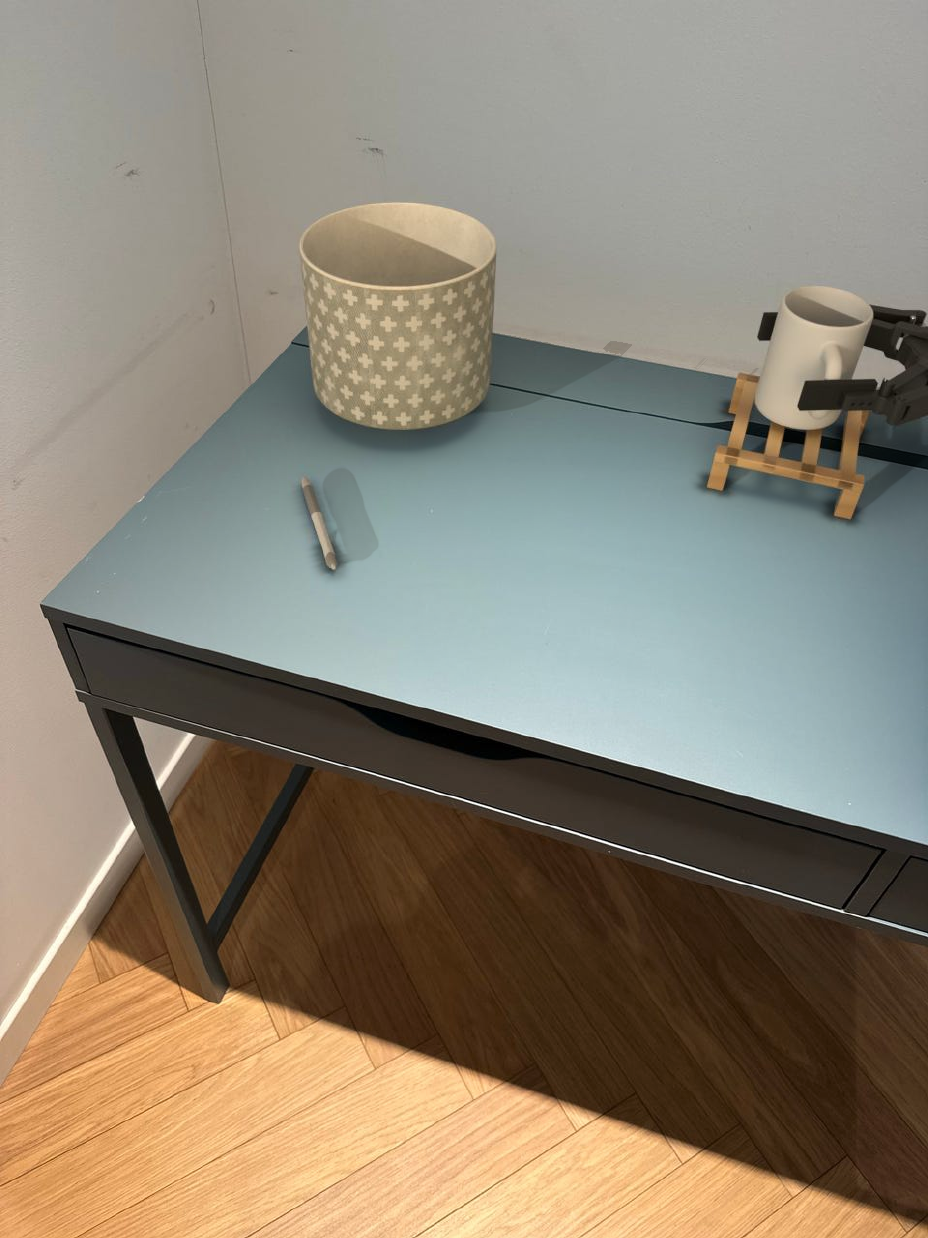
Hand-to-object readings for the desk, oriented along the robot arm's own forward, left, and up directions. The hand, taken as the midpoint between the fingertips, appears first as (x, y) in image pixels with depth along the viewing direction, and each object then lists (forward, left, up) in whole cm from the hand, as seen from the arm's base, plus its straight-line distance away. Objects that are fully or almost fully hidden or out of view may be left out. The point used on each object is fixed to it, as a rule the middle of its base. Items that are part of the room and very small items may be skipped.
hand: (780, 359), depth 92 cm
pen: (-16, +42, -12) cm, 47 cm away
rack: (+1, -4, -12) cm, 12 cm away
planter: (+6, +37, -12) cm, 40 cm away
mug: (+1, -4, -7) cm, 8 cm away
